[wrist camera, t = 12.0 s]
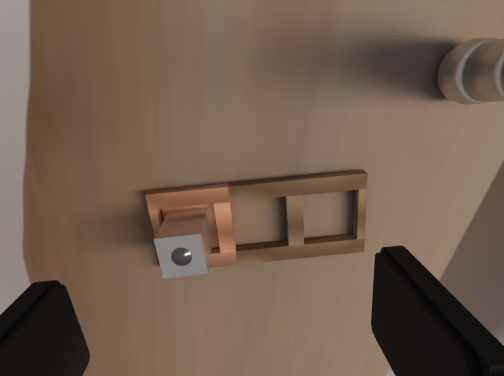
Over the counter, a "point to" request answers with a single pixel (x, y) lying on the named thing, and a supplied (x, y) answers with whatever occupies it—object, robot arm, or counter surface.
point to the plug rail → (289, 187)
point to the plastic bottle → (473, 72)
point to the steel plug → (184, 243)
